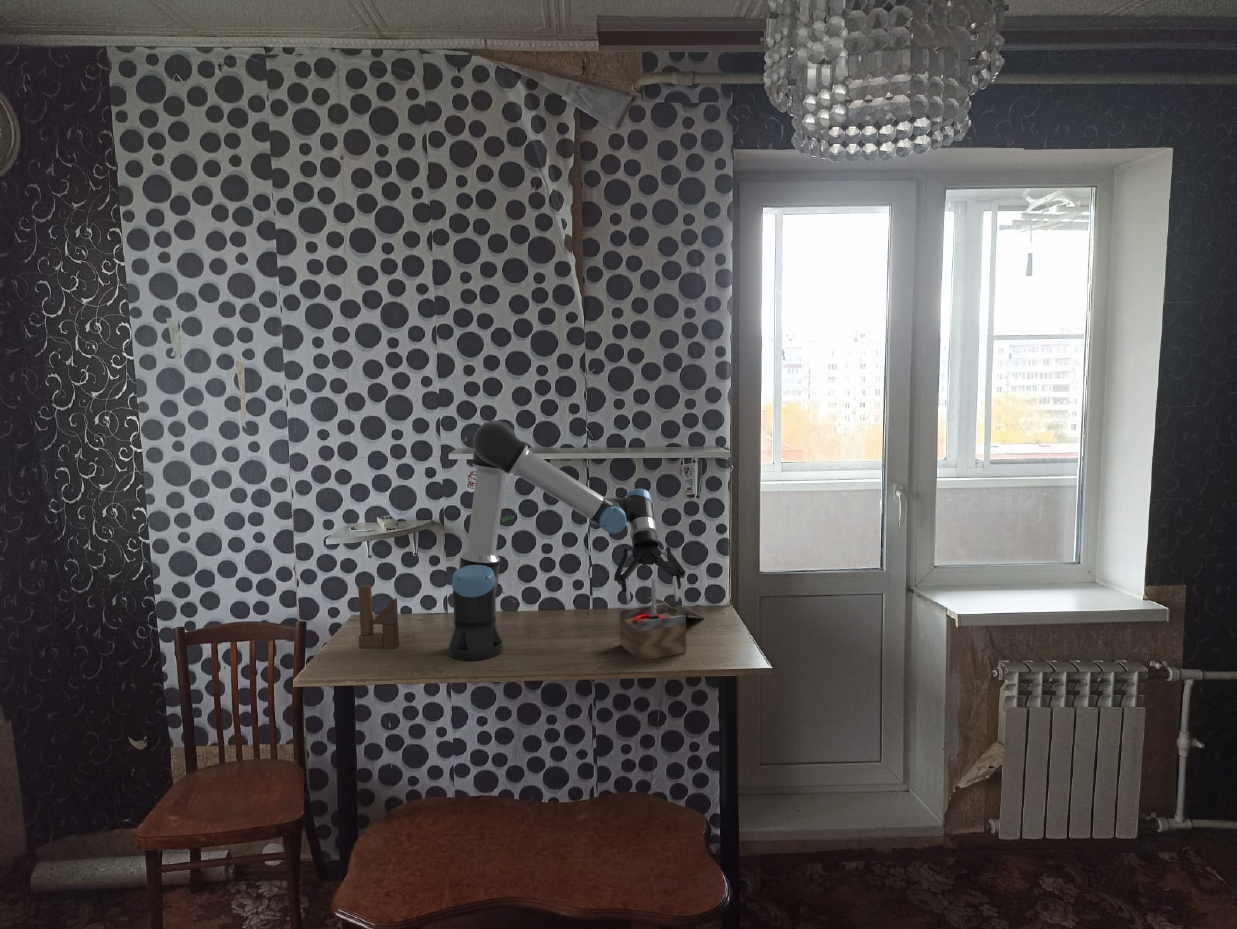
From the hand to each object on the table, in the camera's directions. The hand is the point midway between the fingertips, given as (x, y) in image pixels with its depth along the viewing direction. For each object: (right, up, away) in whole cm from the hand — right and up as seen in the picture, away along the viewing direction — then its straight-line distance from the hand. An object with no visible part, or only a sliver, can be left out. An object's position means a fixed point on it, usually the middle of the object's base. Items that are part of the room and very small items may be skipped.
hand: (653, 600), depth 218 cm
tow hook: (-1, -7, +3) cm, 7 cm away
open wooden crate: (0, -14, +4) cm, 15 cm away
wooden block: (-79, -15, +10) cm, 81 cm away
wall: (+8, -12, +28) cm, 32 cm away
